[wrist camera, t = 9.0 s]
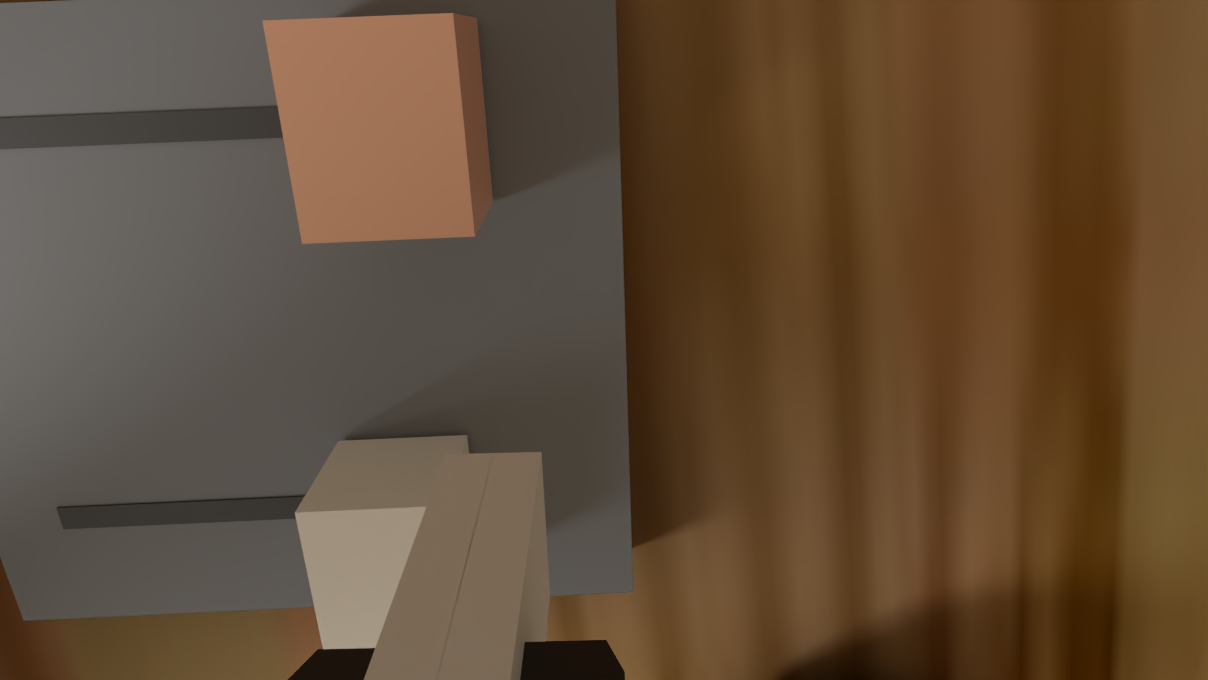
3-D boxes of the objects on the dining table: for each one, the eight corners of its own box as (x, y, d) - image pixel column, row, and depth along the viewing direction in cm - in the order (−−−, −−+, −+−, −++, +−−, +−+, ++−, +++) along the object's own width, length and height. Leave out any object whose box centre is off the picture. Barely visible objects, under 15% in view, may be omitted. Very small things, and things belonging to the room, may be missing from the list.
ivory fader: (361, 568, 33) (324, 656, 28) (338, 440, 31) (294, 512, 26) (481, 562, 33) (464, 649, 28) (467, 434, 31) (446, 505, 26)
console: (66, 576, 36) (22, 622, 33) (-124, 13, 28) (-206, 10, 25) (629, 549, 37) (633, 593, 34) (612, -15, 28) (615, -22, 25)
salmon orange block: (349, 209, 27) (302, 243, 23) (321, 24, 25) (262, 20, 21) (493, 203, 28) (475, 236, 23) (476, 18, 25) (452, 13, 21)
